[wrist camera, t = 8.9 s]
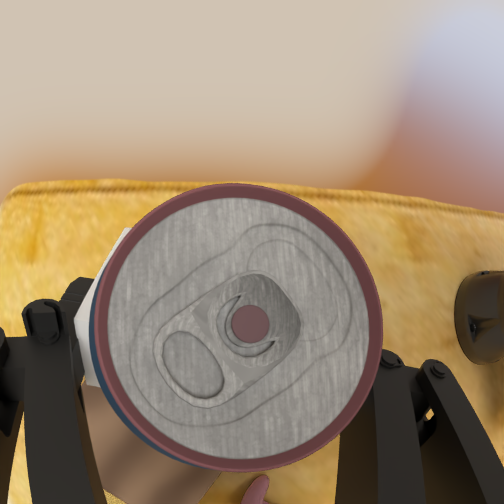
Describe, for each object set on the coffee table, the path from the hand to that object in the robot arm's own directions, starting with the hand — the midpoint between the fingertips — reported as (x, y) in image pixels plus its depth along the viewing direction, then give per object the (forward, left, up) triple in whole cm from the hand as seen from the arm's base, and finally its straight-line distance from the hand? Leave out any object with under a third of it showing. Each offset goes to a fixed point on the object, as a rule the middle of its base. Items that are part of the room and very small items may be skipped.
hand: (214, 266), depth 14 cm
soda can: (-2, +3, -4) cm, 5 cm away
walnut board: (-3, +15, -19) cm, 24 cm away
